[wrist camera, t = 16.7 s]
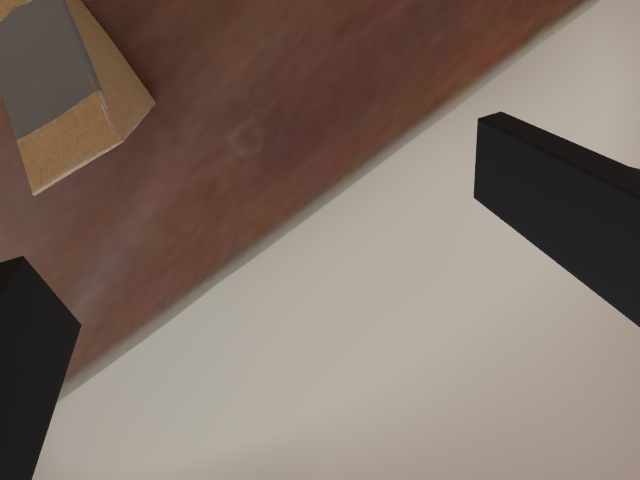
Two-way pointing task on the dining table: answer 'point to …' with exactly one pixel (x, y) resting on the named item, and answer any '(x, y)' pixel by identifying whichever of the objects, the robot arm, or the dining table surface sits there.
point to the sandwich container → (64, 87)
